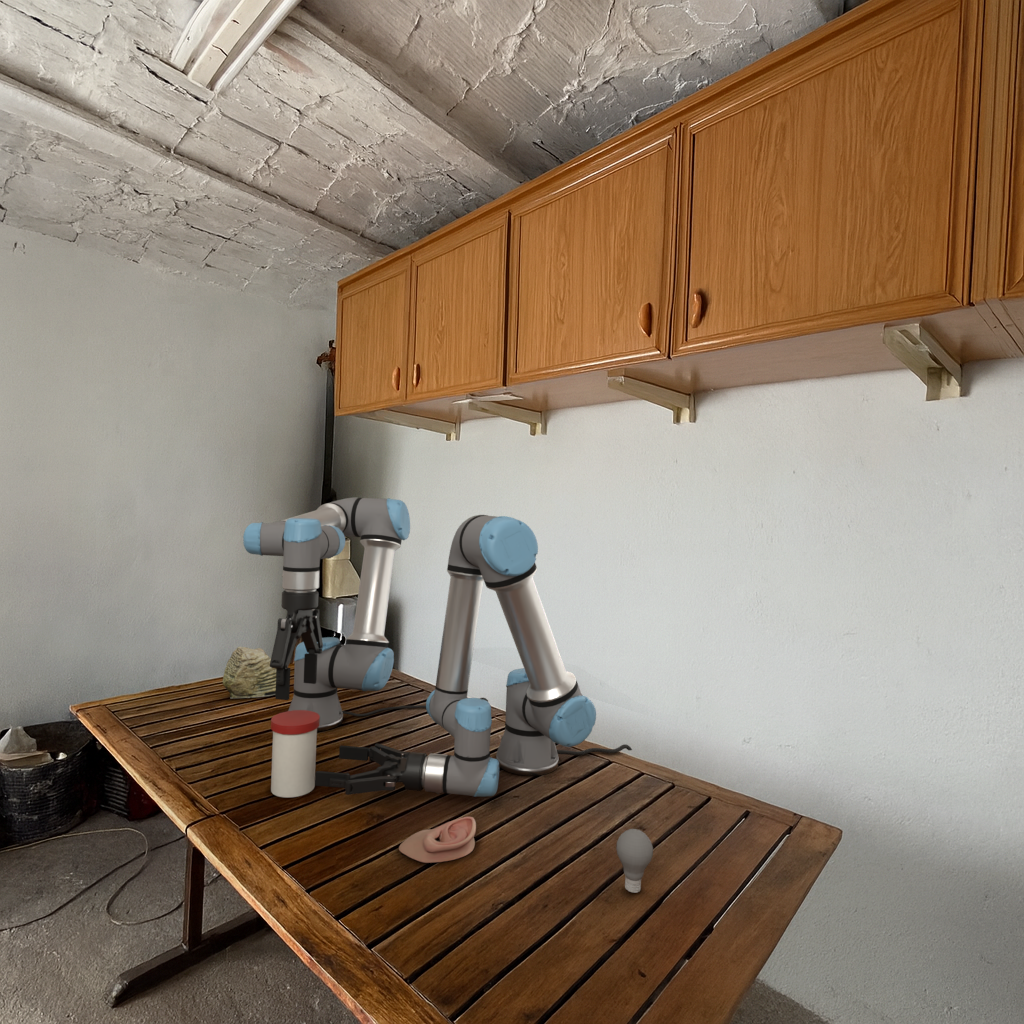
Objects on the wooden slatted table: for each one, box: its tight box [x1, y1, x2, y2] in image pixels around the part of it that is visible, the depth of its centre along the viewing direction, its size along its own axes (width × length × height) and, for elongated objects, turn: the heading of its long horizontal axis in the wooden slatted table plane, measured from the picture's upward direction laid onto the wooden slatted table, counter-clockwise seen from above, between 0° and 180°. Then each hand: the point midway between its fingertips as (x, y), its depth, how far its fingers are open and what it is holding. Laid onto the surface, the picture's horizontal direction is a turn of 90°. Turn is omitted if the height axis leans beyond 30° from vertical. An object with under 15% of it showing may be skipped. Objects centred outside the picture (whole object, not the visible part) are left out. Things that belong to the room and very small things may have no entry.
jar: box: [270, 729, 318, 798], centre depth 137 cm, size 9×9×15 cm
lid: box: [270, 710, 320, 735], centre depth 137 cm, size 10×10×2 cm
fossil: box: [222, 646, 276, 699], centre depth 198 cm, size 9×18×15 cm, turn 132°
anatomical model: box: [398, 816, 477, 864], centre depth 116 cm, size 13×4×12 cm
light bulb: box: [615, 828, 654, 894], centre depth 106 cm, size 6×6×10 cm
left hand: (296, 690), depth 137 cm, fingers open, 11 cm apart
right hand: (328, 764), depth 136 cm, fingers open, 13 cm apart
